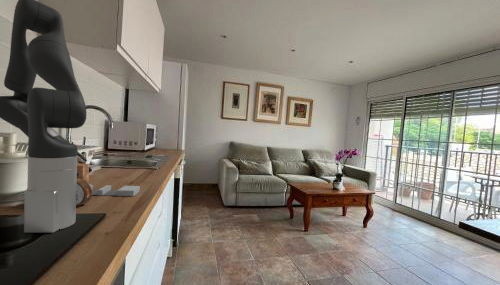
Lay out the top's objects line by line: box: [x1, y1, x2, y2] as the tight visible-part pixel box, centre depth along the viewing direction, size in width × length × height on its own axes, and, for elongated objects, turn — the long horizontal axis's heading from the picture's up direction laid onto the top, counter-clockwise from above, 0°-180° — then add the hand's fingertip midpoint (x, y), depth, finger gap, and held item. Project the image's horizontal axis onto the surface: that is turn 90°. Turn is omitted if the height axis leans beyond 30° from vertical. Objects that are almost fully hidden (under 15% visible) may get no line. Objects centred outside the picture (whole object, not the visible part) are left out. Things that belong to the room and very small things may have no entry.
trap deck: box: [89, 184, 141, 197], centre depth 87 cm, size 7×22×2 cm, turn 99°
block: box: [77, 162, 90, 183], centre depth 85 cm, size 4×4×8 cm
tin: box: [76, 178, 93, 207], centre depth 73 cm, size 15×3×8 cm, turn 84°
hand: (83, 174), depth 86 cm, fingers open, 8 cm apart
